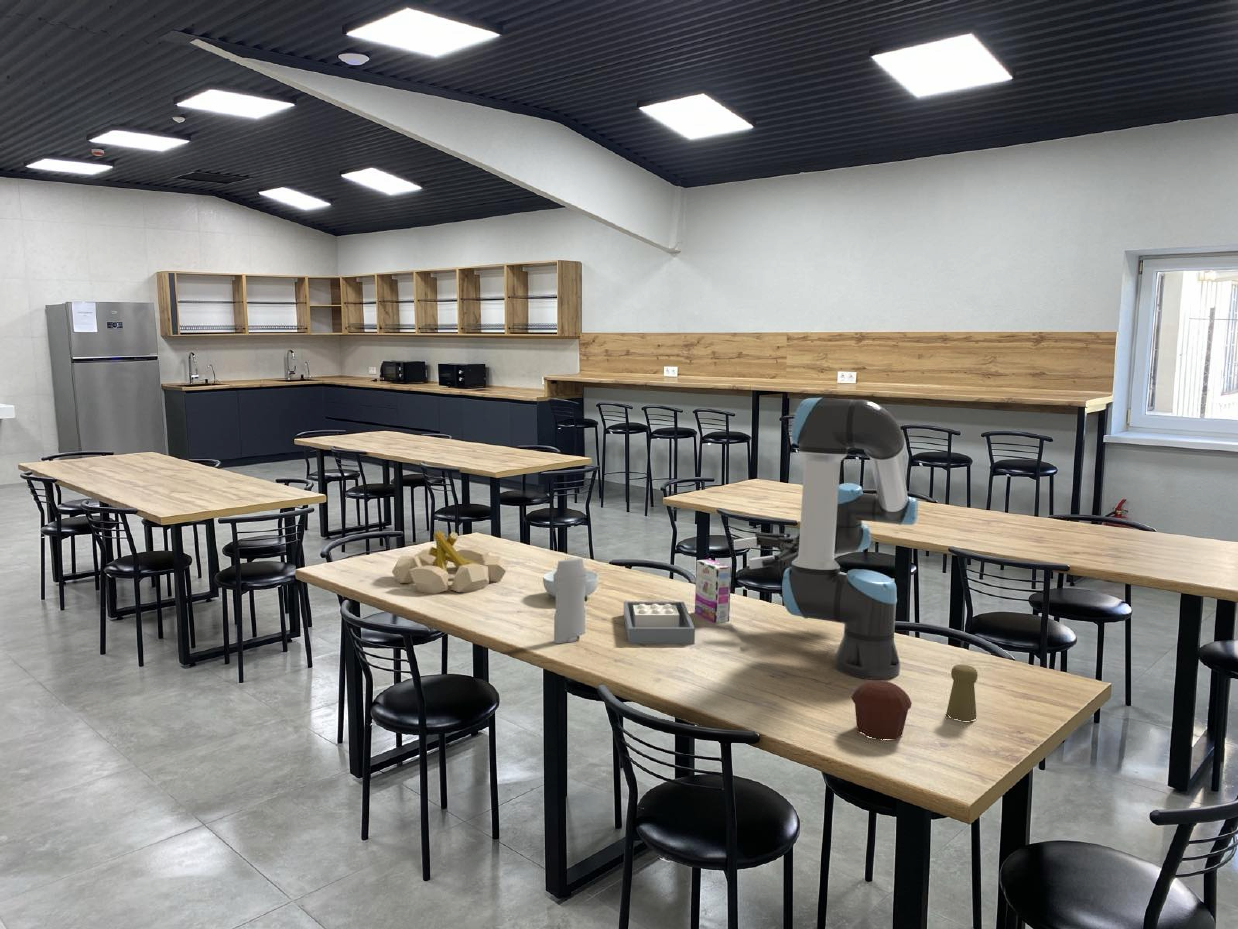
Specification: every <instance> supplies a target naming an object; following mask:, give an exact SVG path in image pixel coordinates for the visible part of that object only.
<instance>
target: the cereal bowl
mask: <svg viewBox="0 0 1238 929" xmlns="http://www.w3.org/2000/svg"><path fill="white" fill-rule="evenodd" d="M556 571H557V569H556V570H551V571H549V572H546V573H545V574H543V576H542V583H543V586H544V590H545V591H546V592H547V593H548V594H549V595H551V596H553V597H555V591H556V589H555V588H554V584H553V581H554V580H553V578H554V573H555V572H556ZM599 578H600V577H599V574H598V573H597V572H595V571H593V570H588V569H587V582H586V583H585V585H584V586H585V592H584V593H585V594H584V595H585V597H587V596H591V595H592V594H593V593H594V592H595V591H596V590H597V589H598V586H599V580H600V579H599ZM585 597H584V598H585Z"/></svg>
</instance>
